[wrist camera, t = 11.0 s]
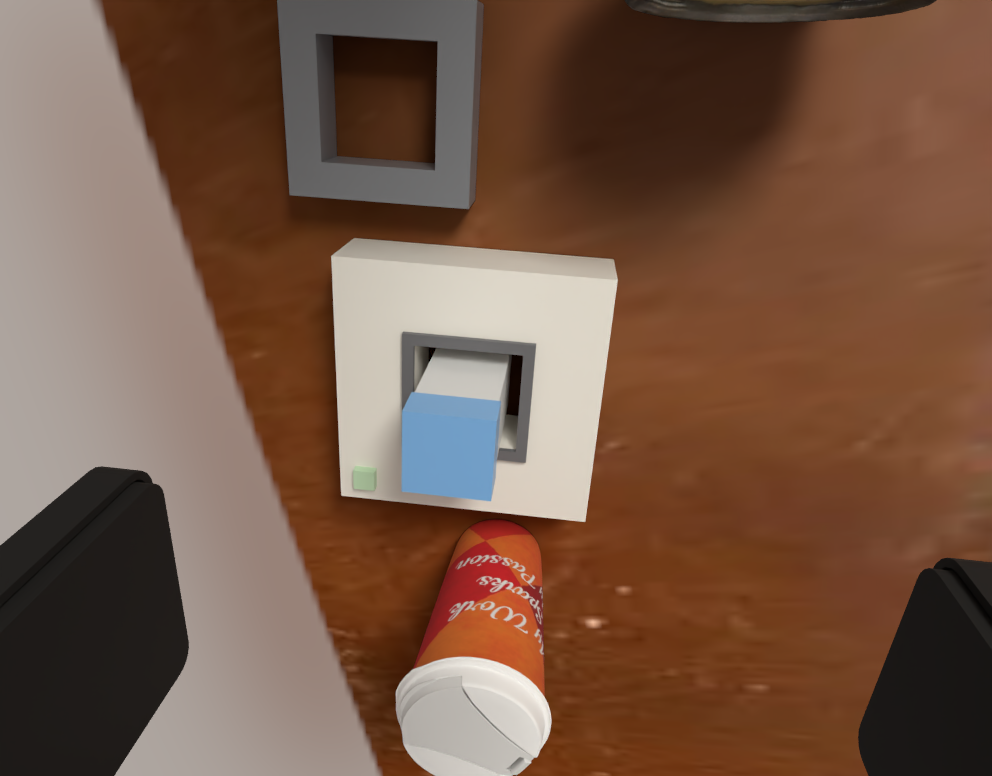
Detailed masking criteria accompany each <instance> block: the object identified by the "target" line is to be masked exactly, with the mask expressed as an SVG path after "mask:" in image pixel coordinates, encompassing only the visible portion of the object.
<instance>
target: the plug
mask: <svg viewBox="0 0 992 776" xmlns="http://www.w3.org/2000/svg"><path fill="white" fill-rule="evenodd" d="M511 359H512V355H510V354H500V353H489V352H478V351H467V350H456V349H445V348H436V350H435V352H434V354H433V356H432V358H431V360H430V362H429V364H428V366H427V368H426V370H425V372H424V374H423V376H422V378H421V380H420V382H419V384H418V386H417V388H416V390H415V392H411V394H410V396H409V398H408V400H407V402H406V404H405V406H404V408H403V410H402V492H411V493H420V494H429V495H438V496H447V497H456V498H465V499H474V500H483V501H491V499H492V494H493V489H494V484H495V479H496V465H497V457H498V452H499V447H500V442H501V437H502V432H503V427H504V422H505V417H506V412H507V407H508V398H509V385H510V372H511Z"/></svg>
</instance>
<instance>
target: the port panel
mask: <svg viewBox="0 0 992 776" xmlns="http://www.w3.org/2000/svg"><path fill="white" fill-rule="evenodd" d="M331 261H332V286H333V310H334V334H335V358H336V382H337V406H338V430H339V454H340V478H341V496H349V497H358V498H368V499H377V500H386V501H395V502H405V503H414V504H423V505H433V506H442V507H451V508H460V509H470V510H479V511H488V512H497V513H507V514H516V515H525V516H534V517H544V518H553V519H562V520H572V521H581V522H585V520H586V512H587V505H588V497H589V490H590V483H591V475H592V468H593V460H594V453H595V445H596V438H597V430H598V423H599V415H600V408H601V401H602V393H603V386H604V378H605V371H606V363H607V356H608V348H609V341H610V334H611V326H612V319H613V311H614V304H615V296H616V289H617V281H618V279H617V274H616V269H615V264H614V259H605V258H593V257H580V256H568V255H556V254H544V253H532V252H519V251H507V250H495V249H483V248H471V247H459V246H446V245H434V244H422V243H410V242H398V241H386V240H373V239H361V238H354V239H352V240H351V241H350V242H349V243H347V244H346V245H345V246H343V247H342V248H341V249H340V250H338V251H337V252H336V253H335V254H333V255H332V256H331ZM429 347H435V348H445V349H456V350H467V351H478V352H489V353H500V354H510V355H521V356H523V364H522V377H521V390H520V402H519V415H518V416H515V415H506V417H505V422H504V427H503V432H502V437H501V442H500V447H499V452H498V457H497V465H496V479H495V484H494V489H493V494H492V499H491V501H483V500H474V499H465V498H456V497H447V496H438V495H429V494H420V493H411V492H402V410H403V408H404V406H405V404H406V402H407V400H408V398H409V396H410V394H411V392H415V390H416V388H417V386H418V384H419V382H420V380H421V378H422V376H423V374H424V372H425V370H426V368H427V366H428V364H429Z"/></svg>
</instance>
